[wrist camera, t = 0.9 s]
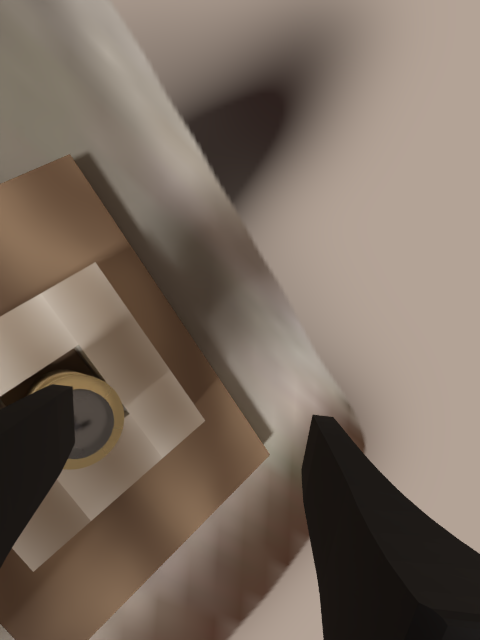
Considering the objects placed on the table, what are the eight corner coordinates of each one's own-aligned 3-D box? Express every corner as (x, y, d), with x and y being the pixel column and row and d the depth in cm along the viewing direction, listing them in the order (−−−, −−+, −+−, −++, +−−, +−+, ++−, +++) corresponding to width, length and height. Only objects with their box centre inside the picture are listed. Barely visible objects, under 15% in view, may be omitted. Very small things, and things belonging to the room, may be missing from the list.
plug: (51, 448, 21) (65, 495, 14) (9, 396, 21) (1, 418, 13) (107, 405, 23) (145, 429, 16) (70, 356, 22) (92, 356, 15)
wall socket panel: (49, 657, 22) (55, 725, 18) (-272, 314, 17) (-360, 301, 13) (258, 450, 29) (296, 465, 25) (67, 165, 24) (75, 127, 20)
